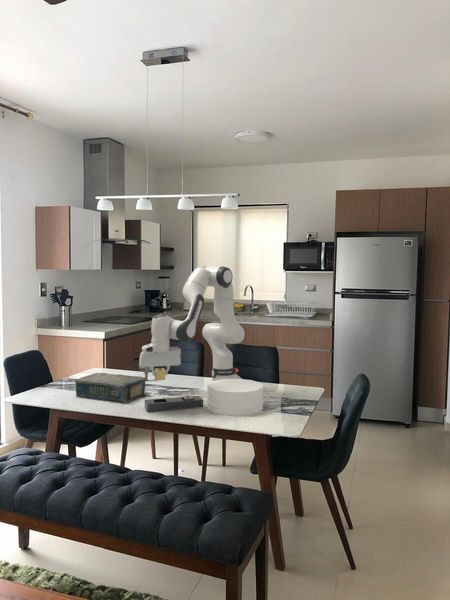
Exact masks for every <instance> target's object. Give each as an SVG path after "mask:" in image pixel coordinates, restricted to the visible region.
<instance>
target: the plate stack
mask: <svg viewBox="0 0 450 600" xmlns="http://www.w3.org/2000/svg"><path fill="white" fill-rule="evenodd" d="M206 388H207V391H206V392H207V395H206V397H207V400H206V404H207V405H206V408H207V410H208V411H210V412H212V413H214V414H220V415H224V416H248V415H255V414H257V413H259V412H262V411H263V409H264V405H263V404H264V384H262V383H261V382H259V381H255V380H252V379H244V378H242V379H222V380H216V381H212V380H211V381H210V382H208V383H207V387H206Z"/></svg>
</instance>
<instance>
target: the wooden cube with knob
mask: <svg viewBox="0 0 450 600" xmlns="http://www.w3.org/2000/svg"><path fill="white" fill-rule="evenodd" d="M154 371H155V372H156V375H155V376H154V379H155V380H156V381H166V375H165V371H166V369H165V368H164V367H160V368H154Z"/></svg>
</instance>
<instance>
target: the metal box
mask: <svg viewBox="0 0 450 600" xmlns="http://www.w3.org/2000/svg"><path fill="white" fill-rule="evenodd" d="M146 382H147V381H146V378H145V376H144V377H143V376H138V375H137V376H136V375H134V376H133V375H127V374H126V375H125V374H119V373H118V374H115V373H107V372H95V373H92V374H89V375H85V376H83V377H80V378H79V379H75V380H74V383H75V397H77V398H82V399H91V400H97V401H98V400H99V401H106V402H113V403H120V404H126V403H128V402H131V401H133V400H134V401H135V400H137V399H138V398H140V397H143V396H144V395H145V393H146Z"/></svg>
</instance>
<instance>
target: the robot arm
mask: <svg viewBox="0 0 450 600" xmlns="http://www.w3.org/2000/svg"><path fill="white" fill-rule="evenodd" d="M233 275H234V274H233V272H232V270H231V269H230V268H229V267H227V266H220V265H213V266H203V267H202V266H201V267H196V268H195V269H194V270H193V271H192V272H191V274H190V275H189V277H188V278H187V280H186V282H185V283H184V285H183V287H182V292H181V293H182V296H183V298H184V299H185V300H186V301H187V302H188V303H189V304H190V308H189V311H188V314H187V317H186V318H185V319H183V320H178V319H174V318H172V317H170V316H169V315H168V314H167V313H160V314H159V313H158V314H157V313H156V314H155V315H154V316H153V317H152V320H151V326H150V328H151V330H150V333H151V339H150V340H151V343H148V344H145V345H142V347H141V352H140V354H139V359H138V361H139V363H138V364H139V365H140V366H141V367H149V368H150V369H151V370H152V371H151V372H152V376H154V377H155V375H156V372H155V367H166V369H165V376H168V372H169V370H170V369H171V367H172V366H180V365H181V363H182V361H181V360H182V359H181V353H182V348H180V347H179V346H170V339H173V340H177V341H181V342H185V343H188V342H190V341H192V340H193V339H194V337H195V336H196V333H197V326H198V323H199V321H200V317H201V314H202V311H203V308H204V306H205V297H204V294H205V293H206V291H207V288H208V287H213V289H214V291H213V312H214V314H215V315H216V316H217V318H219V319H220V322H210V323H206V324H205V325H204V326H203V328H202V331H201V333H202V337H203V339H204V340H206V341H207V343H208V345H209V347H210V349H211V351H212V352H211V353H212V369H211V378H212V379H211V382H212V381H216V380H222V379H243V378H242V377H240V376H239V374H237V373H238V372H239V369H238V368H237V367H236V368H235V367H234V366H233V365H234V364H233V362H234V360H233V359H234V357H233V352H232V351H231V350H230V349H228V347H227V346H226V345H229V344H231V345H235V344H240V343H242V342H243V341H244V338H245V335H246V334H245V330H244V328H243V326H241V324H239V322H238V320H237V319H236V315H235V305H234V304H235V303H234V301H235V300H234V298H235V297H234V296H235V295H234V285H233ZM139 365H138V366H139ZM154 366H155V367H154ZM153 369H154V370H153Z"/></svg>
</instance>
